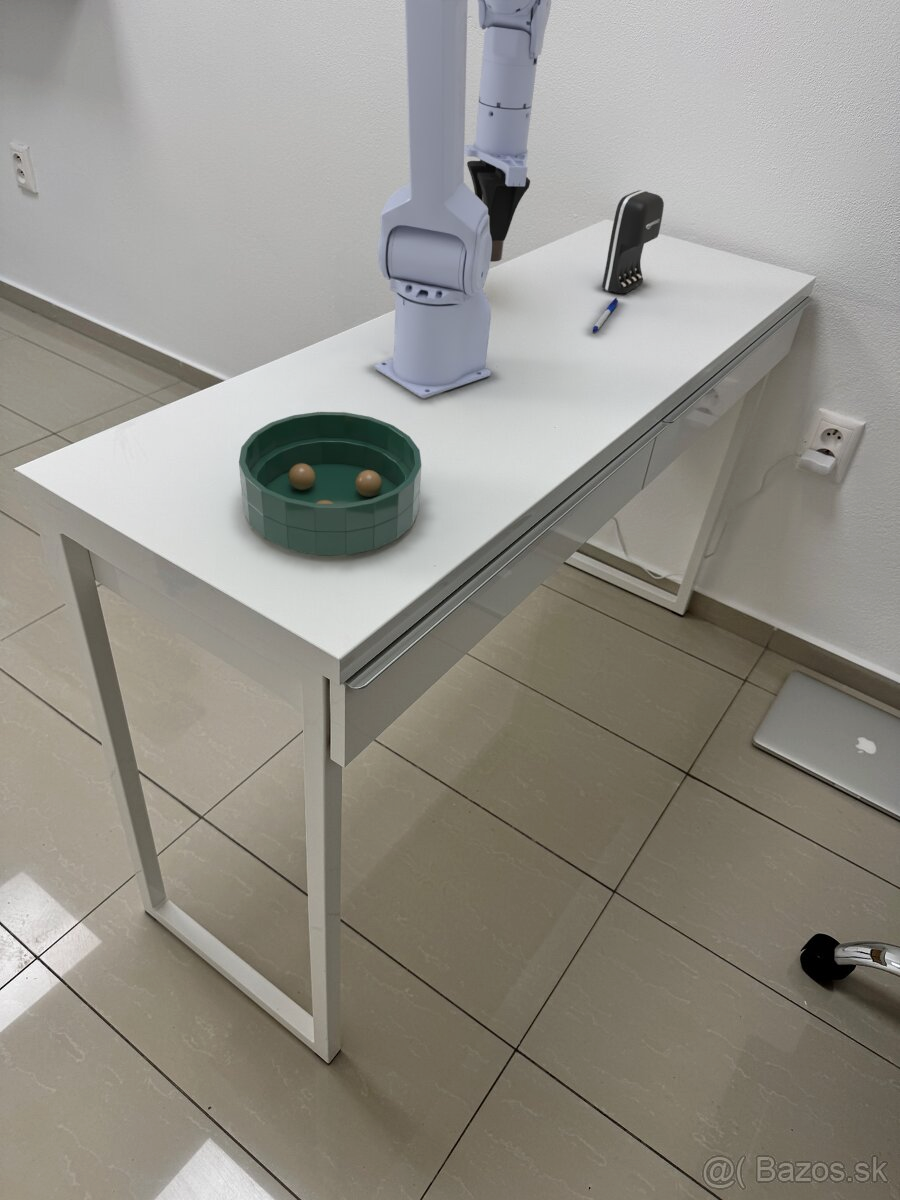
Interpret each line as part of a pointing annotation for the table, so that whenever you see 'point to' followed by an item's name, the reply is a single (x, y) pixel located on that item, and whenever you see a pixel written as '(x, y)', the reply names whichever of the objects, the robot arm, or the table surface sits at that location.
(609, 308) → the ballpoint pen
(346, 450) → the bowl
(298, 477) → the bead
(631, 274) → the battery charger
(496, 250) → the brown wooden cylinder
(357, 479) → the bead
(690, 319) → the table surface
